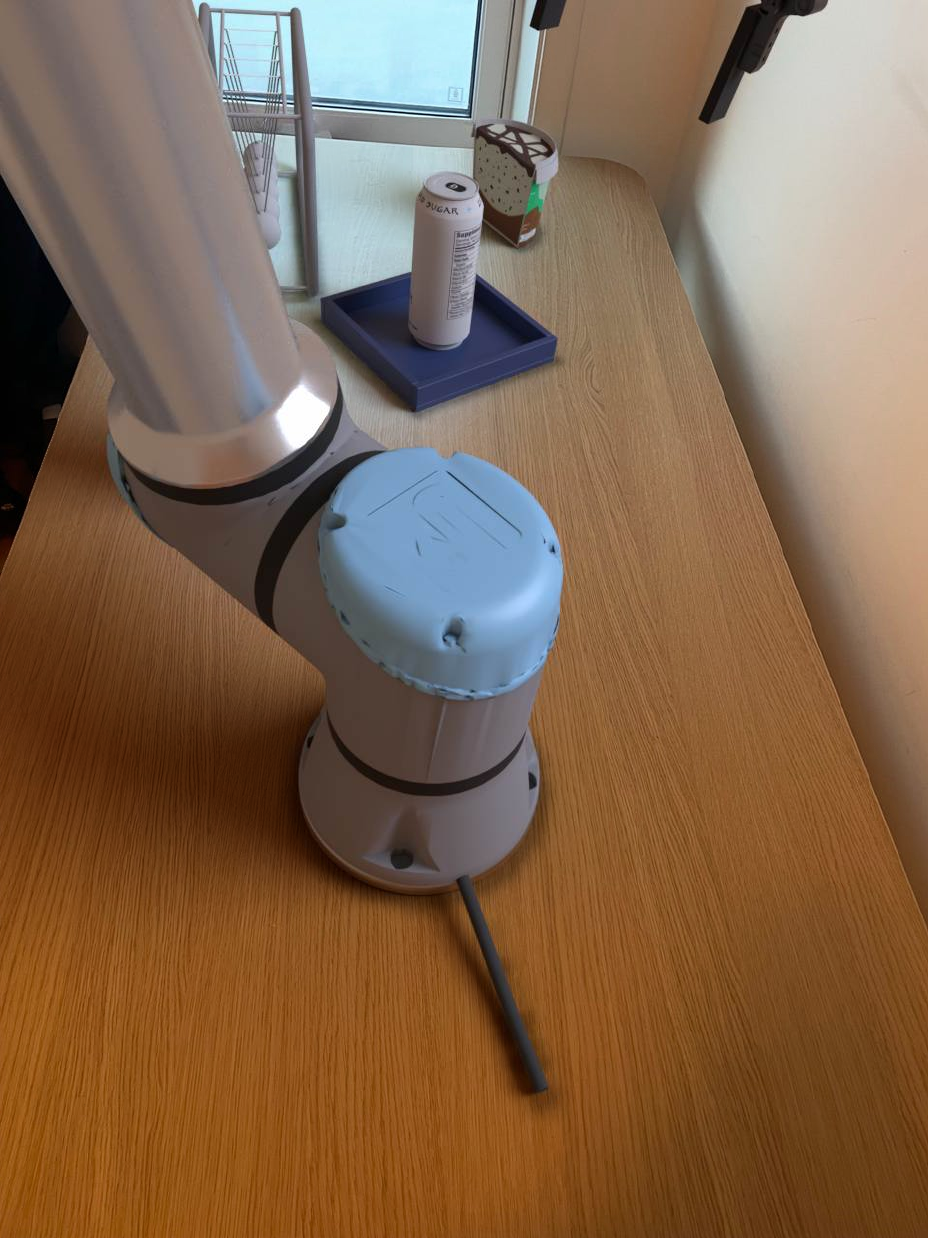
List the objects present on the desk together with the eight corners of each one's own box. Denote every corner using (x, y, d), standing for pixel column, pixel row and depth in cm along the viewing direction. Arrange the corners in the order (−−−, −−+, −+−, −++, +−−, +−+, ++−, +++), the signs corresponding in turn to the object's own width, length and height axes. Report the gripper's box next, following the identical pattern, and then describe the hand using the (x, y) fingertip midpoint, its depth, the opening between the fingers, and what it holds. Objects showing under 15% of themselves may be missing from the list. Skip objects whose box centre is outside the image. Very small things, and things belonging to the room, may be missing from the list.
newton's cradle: (319, 305, 95) (314, 122, 81) (212, 305, 93) (190, 117, 79) (305, 168, 114) (299, 0, 100) (216, 166, 112) (198, -5, 98)
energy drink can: (430, 311, 95) (441, 161, 84) (480, 333, 93) (498, 183, 82) (395, 337, 91) (402, 184, 80) (446, 361, 90) (461, 208, 78)
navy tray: (553, 360, 93) (558, 337, 91) (415, 412, 85) (417, 388, 83) (454, 280, 100) (457, 257, 98) (320, 321, 93) (320, 297, 91)
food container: (567, 243, 108) (584, 154, 100) (525, 254, 105) (539, 164, 98) (505, 195, 114) (516, 108, 106) (464, 205, 111) (472, 117, 104)
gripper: (1031, -282, 46) (806, 147, 62) (618, -445, 52) (508, -15, 68) (999, -298, 42) (764, 171, 57) (549, -476, 47) (447, -5, 63)
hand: (625, 71), depth 62 cm, fingers open, 13 cm apart
